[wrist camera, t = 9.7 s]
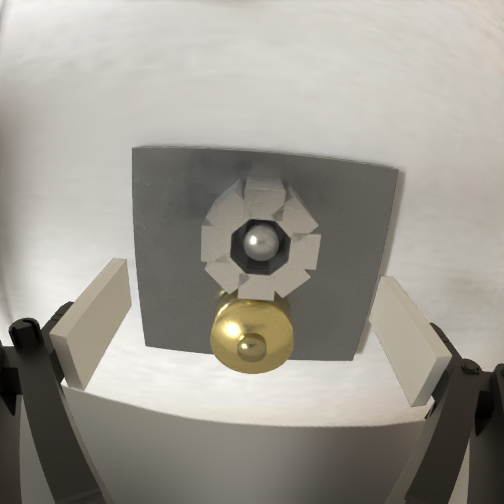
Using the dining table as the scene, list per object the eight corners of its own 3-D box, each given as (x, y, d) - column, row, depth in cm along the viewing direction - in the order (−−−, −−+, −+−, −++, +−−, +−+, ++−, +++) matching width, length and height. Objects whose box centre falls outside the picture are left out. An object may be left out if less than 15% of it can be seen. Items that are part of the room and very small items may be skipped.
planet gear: (210, 266, 28) (201, 294, 23) (213, 174, 25) (202, 185, 20) (302, 273, 28) (309, 302, 23) (314, 182, 25) (326, 195, 20)
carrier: (148, 339, 33) (131, 377, 27) (137, 146, 25) (105, 154, 19) (350, 353, 33) (363, 393, 27) (392, 167, 25) (425, 180, 19)
